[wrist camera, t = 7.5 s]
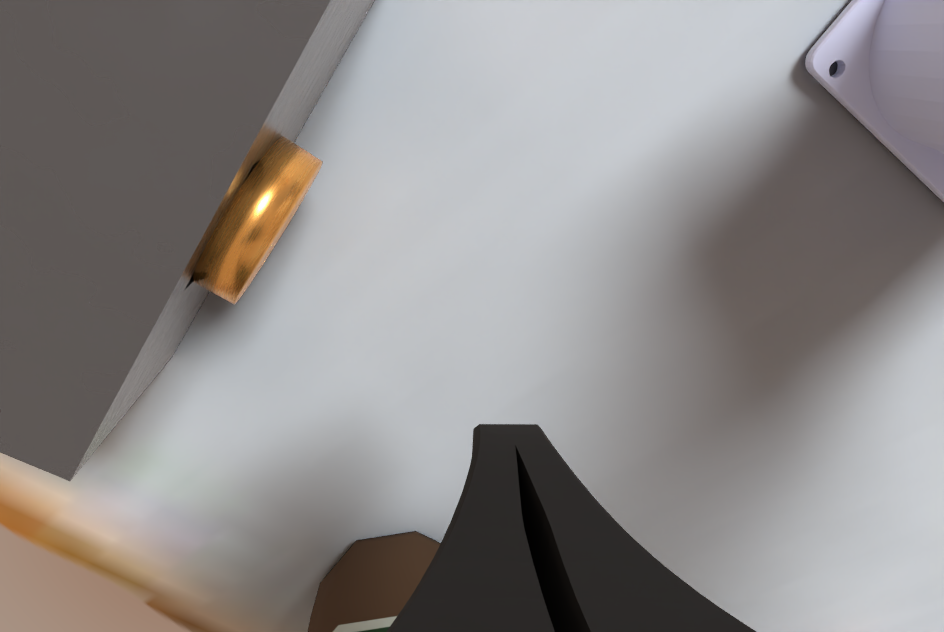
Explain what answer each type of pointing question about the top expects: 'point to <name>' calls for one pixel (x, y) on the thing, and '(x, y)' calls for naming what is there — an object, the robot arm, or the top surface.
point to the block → (129, 186)
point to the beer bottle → (372, 583)
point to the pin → (256, 219)
